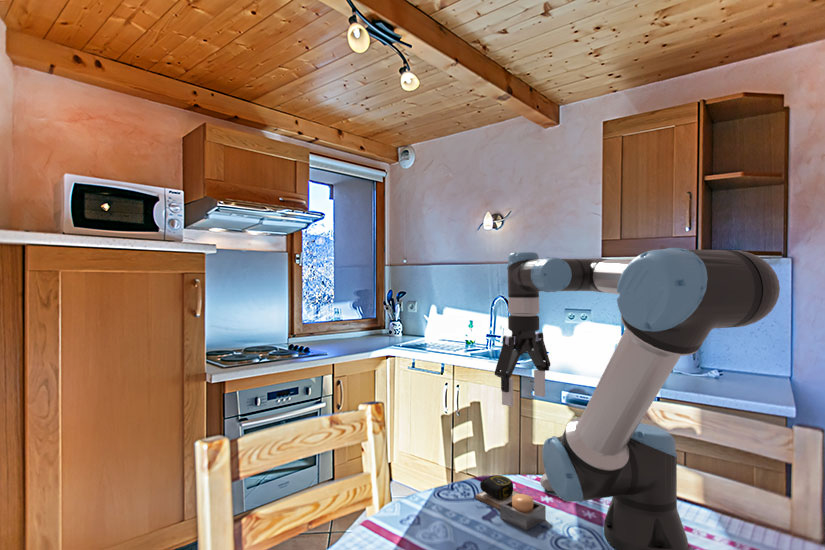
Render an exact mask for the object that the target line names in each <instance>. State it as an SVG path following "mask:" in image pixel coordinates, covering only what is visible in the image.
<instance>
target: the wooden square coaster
mask: <svg viewBox="0 0 825 550" xmlns="http://www.w3.org/2000/svg"><path fill="white" fill-rule="evenodd" d="M516 494H522V493H521V492H518V491H516V490H514V489H513V493H512V495H511V496H510V497H508V498H502V500H497V499H495V498H494V497H492V496H490V495H489V494H487V493H485V492H484V491H481V492H478V493H477V494H475V495H474V496H475V498H474V499H476V500H479V501H480V502H482V503H485V504H486V505H487V504H488V505H489V506H491V507H494V508H495V509H497V510H500V504H502V503H504V502H506V501H508V500H510V499H512V496H513V495H516Z"/></svg>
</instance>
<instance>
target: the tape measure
mask: <svg viewBox="0 0 825 550" xmlns="http://www.w3.org/2000/svg"><path fill="white" fill-rule="evenodd" d="M479 485H480V489H481V492H483V491H484V492H485V493H487V494H489V495H490V496H492V497H494V498H495V499H497V500H502V498H508V497H510V496H511V495H512V493H513V490H514V484H513V481H512V479H511V478H509V477H507V476H506V475H505V476H504V475H495V474H494V475H491V476H489V477H487V478H483V479H482V480H481V481H480V484H479Z"/></svg>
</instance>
